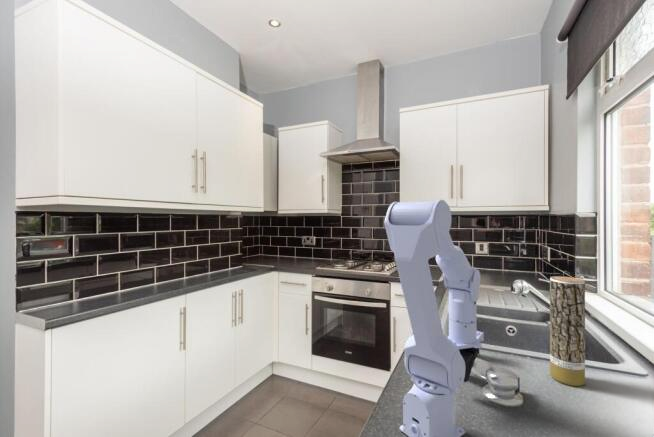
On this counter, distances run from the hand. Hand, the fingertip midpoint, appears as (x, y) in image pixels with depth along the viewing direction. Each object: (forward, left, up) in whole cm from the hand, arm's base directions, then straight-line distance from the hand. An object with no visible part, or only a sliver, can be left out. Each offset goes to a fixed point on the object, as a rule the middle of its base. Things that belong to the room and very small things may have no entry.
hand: (462, 379), depth 69 cm
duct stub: (+7, -5, -4) cm, 10 cm away
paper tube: (+27, -11, -4) cm, 30 cm away
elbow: (+8, -1, -1) cm, 8 cm away
